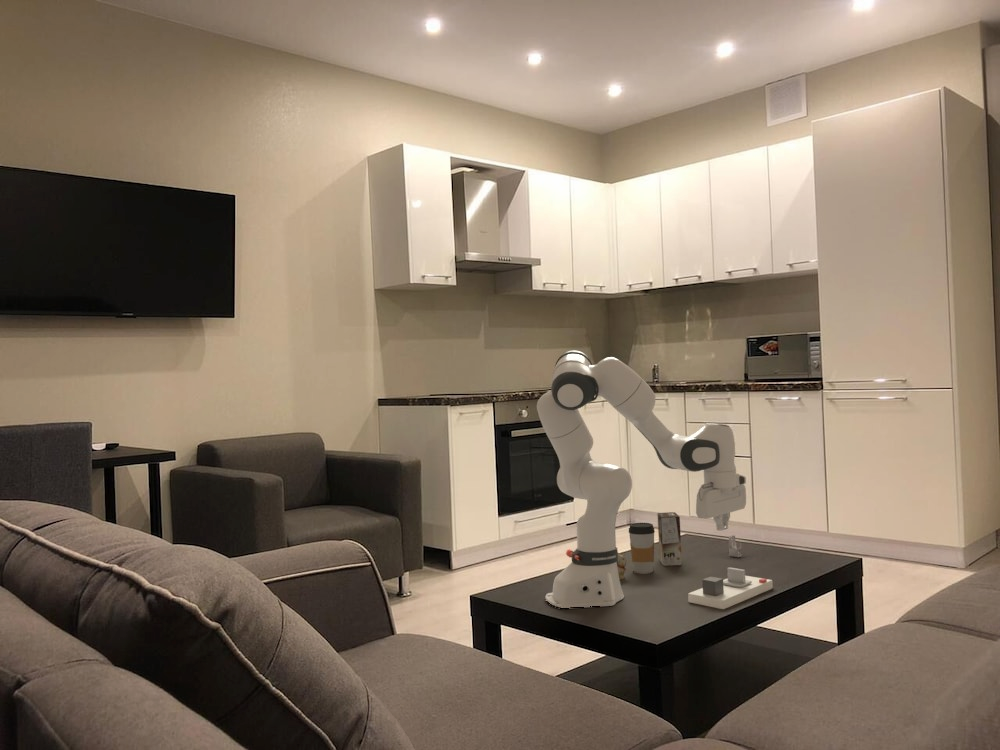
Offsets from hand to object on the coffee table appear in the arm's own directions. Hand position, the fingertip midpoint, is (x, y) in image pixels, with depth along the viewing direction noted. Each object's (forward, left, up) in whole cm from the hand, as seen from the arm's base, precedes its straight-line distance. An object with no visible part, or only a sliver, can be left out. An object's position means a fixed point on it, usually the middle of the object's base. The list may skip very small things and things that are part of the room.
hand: (722, 529), depth 227 cm
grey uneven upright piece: (+34, +42, -20) cm, 58 cm away
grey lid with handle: (+5, +3, -17) cm, 18 cm away
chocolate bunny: (-20, +32, -19) cm, 43 cm away
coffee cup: (-8, +36, -19) cm, 42 cm away
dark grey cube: (-5, -3, -17) cm, 18 cm away
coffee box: (+5, +43, -19) cm, 48 cm away
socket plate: (+3, +1, -19) cm, 19 cm away
